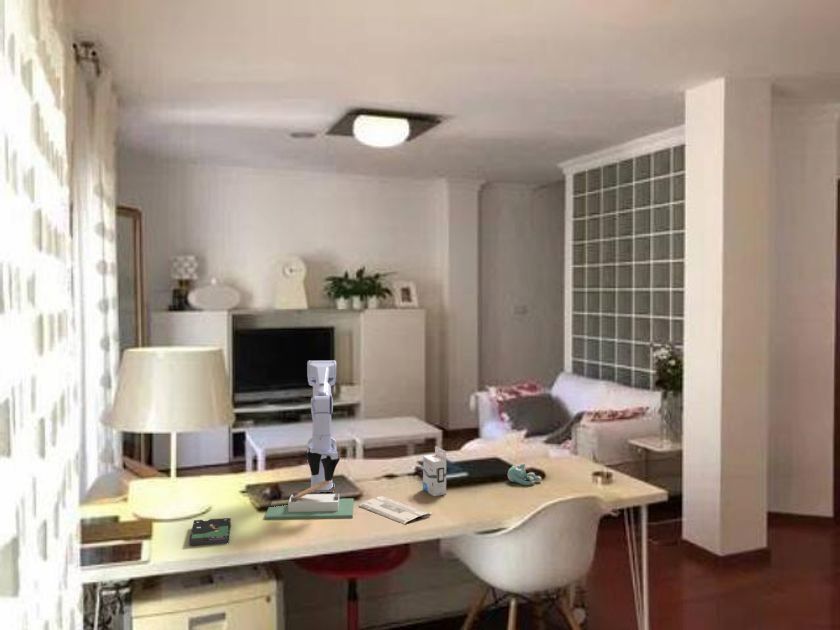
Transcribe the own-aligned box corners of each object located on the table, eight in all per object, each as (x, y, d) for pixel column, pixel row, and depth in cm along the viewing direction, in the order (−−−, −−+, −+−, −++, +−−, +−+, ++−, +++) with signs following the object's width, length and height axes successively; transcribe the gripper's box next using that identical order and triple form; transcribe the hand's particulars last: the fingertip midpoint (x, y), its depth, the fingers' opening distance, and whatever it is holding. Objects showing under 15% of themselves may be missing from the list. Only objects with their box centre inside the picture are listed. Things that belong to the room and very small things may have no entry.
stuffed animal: (545, 471, 238) (511, 464, 238) (541, 491, 239) (507, 484, 239) (541, 463, 249) (508, 457, 249) (537, 482, 249) (504, 476, 250)
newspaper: (434, 517, 209) (434, 509, 208) (405, 531, 200) (404, 522, 200) (386, 499, 225) (386, 491, 225) (357, 511, 217) (356, 503, 217)
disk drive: (193, 529, 197) (189, 548, 182) (193, 520, 196) (189, 538, 182) (230, 526, 199) (229, 545, 185) (230, 517, 199) (229, 534, 185)
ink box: (422, 489, 234) (422, 447, 234) (435, 487, 236) (435, 445, 236) (433, 496, 227) (434, 452, 226) (446, 494, 229) (447, 451, 228)
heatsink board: (272, 502, 220) (272, 487, 219) (353, 500, 222) (353, 486, 221) (264, 519, 204) (264, 503, 203) (352, 517, 206) (352, 501, 205)
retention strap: (295, 496, 214) (294, 494, 214) (330, 479, 215) (329, 478, 215) (294, 500, 210) (293, 498, 210) (329, 483, 211) (329, 481, 211)
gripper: (298, 431, 214) (298, 474, 215) (324, 440, 203) (324, 485, 204) (317, 428, 219) (317, 470, 220) (343, 436, 208) (343, 481, 209)
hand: (321, 477), depth 212 cm, fingers open, 7 cm apart
